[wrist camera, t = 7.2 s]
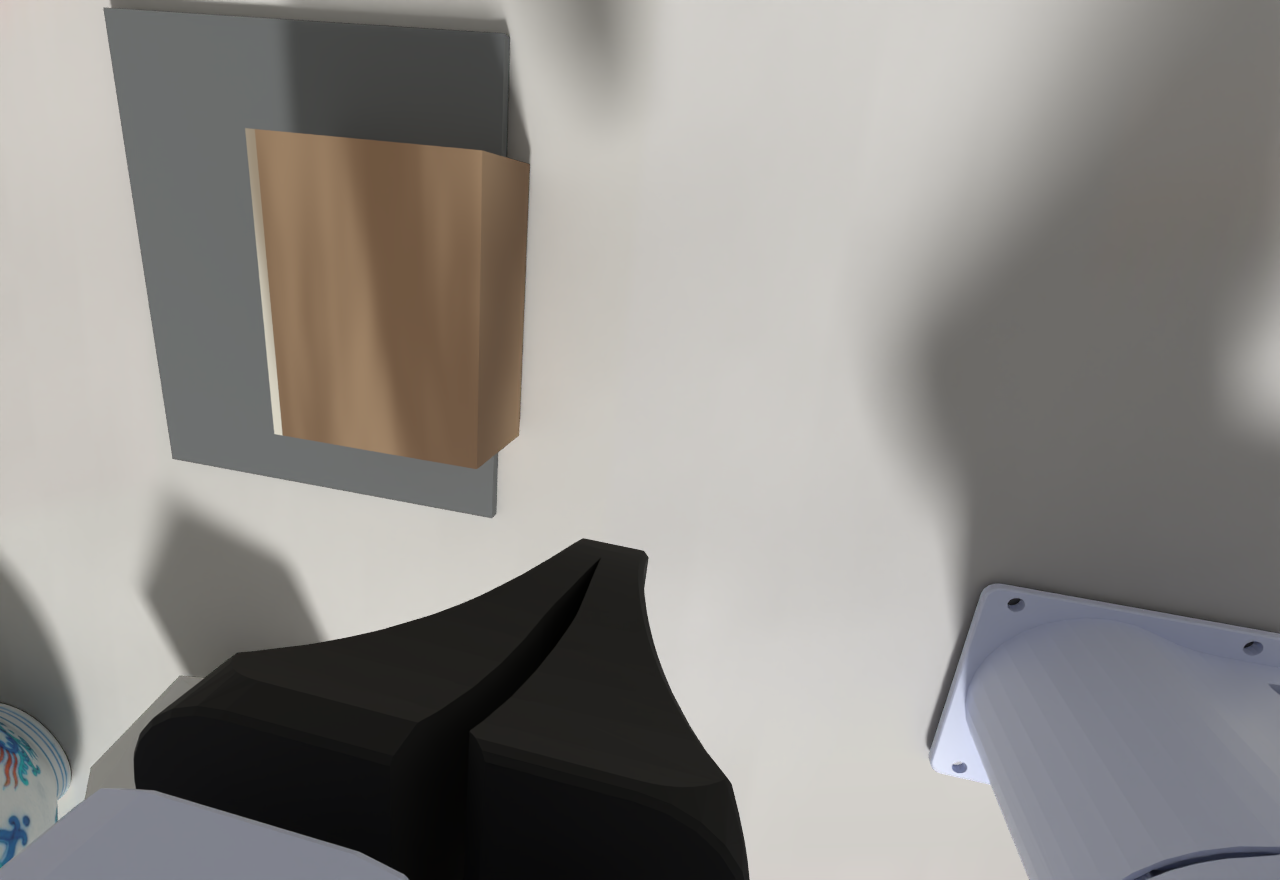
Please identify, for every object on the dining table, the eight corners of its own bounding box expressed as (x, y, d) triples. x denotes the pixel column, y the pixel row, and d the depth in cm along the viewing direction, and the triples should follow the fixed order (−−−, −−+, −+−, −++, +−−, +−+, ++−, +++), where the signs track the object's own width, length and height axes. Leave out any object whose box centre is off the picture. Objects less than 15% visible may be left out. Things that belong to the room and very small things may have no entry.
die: (215, 601, 30) (-23, 803, 24) (294, 671, 24) (6, 955, 19) (327, 696, 34) (149, 883, 29) (415, 774, 29) (213, 1024, 23)
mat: (509, 37, 19) (504, 33, 19) (496, 513, 24) (491, 518, 24) (114, 11, 21) (103, 7, 21) (181, 455, 26) (172, 458, 26)
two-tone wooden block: (481, 150, 16) (245, 128, 17) (476, 469, 19) (274, 434, 20) (529, 164, 20) (327, 144, 21) (518, 435, 23) (342, 406, 24)
